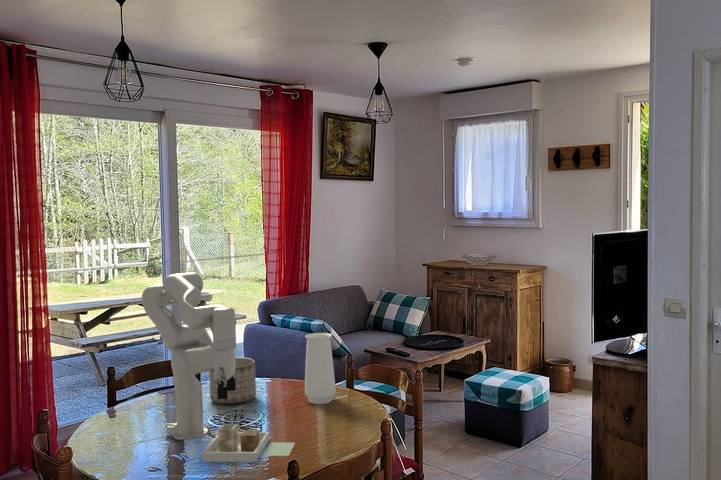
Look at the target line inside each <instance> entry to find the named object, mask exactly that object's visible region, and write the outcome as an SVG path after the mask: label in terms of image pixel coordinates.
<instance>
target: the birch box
mask: <svg viewBox="0 0 721 480" xmlns="http://www.w3.org/2000/svg"><path fill="white" fill-rule="evenodd" d="M217 430H218V433H217V435H218V436H219V452H235V451H236V449H237V448H238V440H237V432H238V424H222V425H221V426H220V427H219V428H218V429H217Z"/></svg>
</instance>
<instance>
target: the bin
mask: <svg viewBox="0 0 721 480" xmlns="http://www.w3.org/2000/svg"><path fill="white" fill-rule="evenodd" d="M242 433H243V431H237V440H238V448H237V449H236V451H235V452H219V436H218V434H216V436H215V437H214V439H212V440H211V442H210V443H209V444H208V445H207V447H205V448H204V450H203V451H202V453H201V454H202V457H201V458H202V460H201V461H202V463H203V462H205V463H206V462H211V463H213V462H216V463H217V462H218V463H219V462H221V463H222V462H223V463H230V462H231V463H256V462H258V459H259V458H260V456H261V454H263V452H264V451H265V449H266V447H267V446H268V445H267V444H269V441H270V432H269V431H259V445H258V446H257V448H256V449H255V451H254V452H241V436H240V435H241V434H242Z"/></svg>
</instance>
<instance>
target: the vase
mask: <svg viewBox="0 0 721 480" xmlns="http://www.w3.org/2000/svg"><path fill="white" fill-rule="evenodd" d="M332 336H333V334H331V333H329V332H313V333H307V334H305V336H304V338H306V348H305V350H306V351H305V367H304V368H305V370H304V396H306V397H307V399H308V402H309V403H310V404H314V405H323V404H328V403H332V401H333V397H334V395H335V394H336V378H335V369H334V359H333V351H332V341H331V338H332Z"/></svg>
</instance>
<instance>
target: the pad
mask: <svg viewBox="0 0 721 480" xmlns="http://www.w3.org/2000/svg"><path fill="white" fill-rule="evenodd" d="M295 444H296V442H285V441H284V442H277V441H276V442H275V441H273V442H268V445H266V447H265V448H264V450H263V452H262V453H261V454H262V455H261V456H262V457H263V456H264V457H267V456H269V457H270V456H271V457H277V456H278V457H280V456H281V457H287V456H288V457H289V456H290V454H291V453H292V450H293V448H294V446H295Z"/></svg>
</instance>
